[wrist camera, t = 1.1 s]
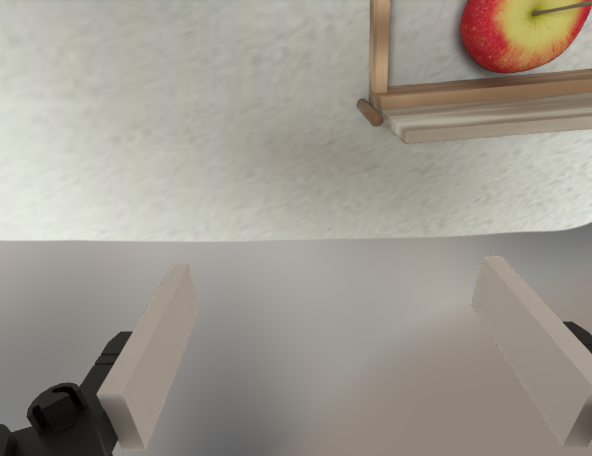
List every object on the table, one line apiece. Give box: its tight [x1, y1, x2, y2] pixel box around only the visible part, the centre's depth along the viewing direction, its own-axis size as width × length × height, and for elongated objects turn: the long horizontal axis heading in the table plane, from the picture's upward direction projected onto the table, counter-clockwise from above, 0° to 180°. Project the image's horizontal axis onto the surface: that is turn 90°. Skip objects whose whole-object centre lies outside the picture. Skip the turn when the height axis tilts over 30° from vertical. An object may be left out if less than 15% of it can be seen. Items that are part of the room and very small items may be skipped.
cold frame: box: [357, 0, 592, 144], centre depth 26 cm, size 13×23×14 cm, turn 95°
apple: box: [460, 0, 592, 73], centre depth 27 cm, size 8×8×10 cm
